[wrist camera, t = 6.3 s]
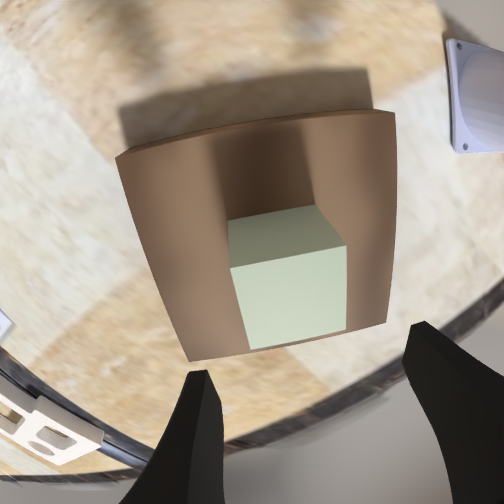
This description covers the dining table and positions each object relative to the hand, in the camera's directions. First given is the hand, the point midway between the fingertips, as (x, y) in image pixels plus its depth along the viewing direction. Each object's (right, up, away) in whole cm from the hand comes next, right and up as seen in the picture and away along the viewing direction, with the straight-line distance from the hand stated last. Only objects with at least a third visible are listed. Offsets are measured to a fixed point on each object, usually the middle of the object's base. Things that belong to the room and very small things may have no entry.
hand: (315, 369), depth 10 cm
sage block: (-1, +4, +7) cm, 8 cm away
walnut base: (-1, +5, +9) cm, 10 cm away
